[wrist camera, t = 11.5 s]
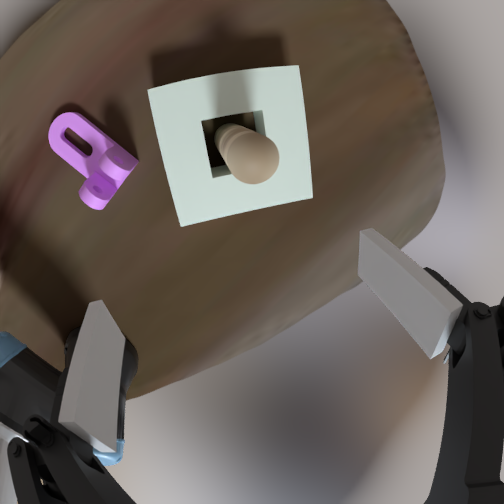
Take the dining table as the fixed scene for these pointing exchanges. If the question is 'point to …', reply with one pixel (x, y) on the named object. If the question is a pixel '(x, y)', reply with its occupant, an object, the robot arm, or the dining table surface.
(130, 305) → the dining table surface
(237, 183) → the socket block
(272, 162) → the peg
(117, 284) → the dining table surface
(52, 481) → the robot arm
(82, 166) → the bracket
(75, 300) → the dining table surface
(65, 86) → the dining table surface
